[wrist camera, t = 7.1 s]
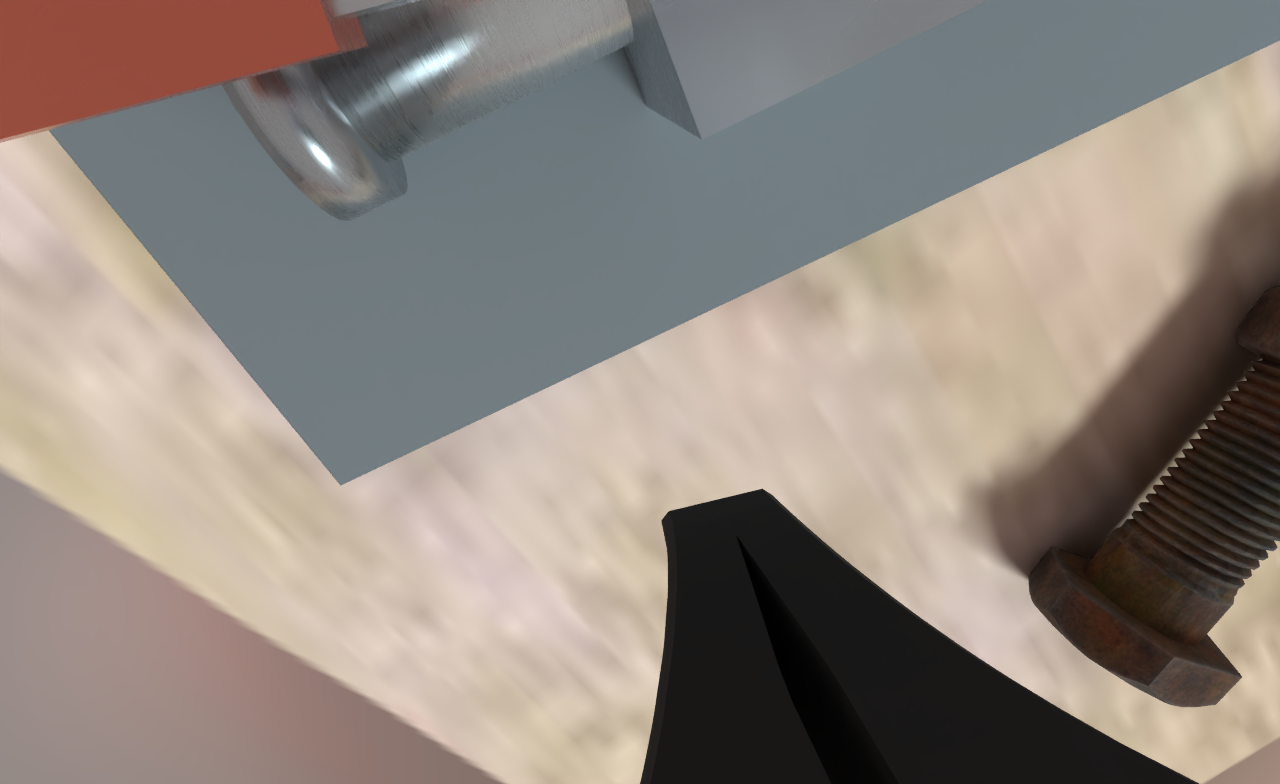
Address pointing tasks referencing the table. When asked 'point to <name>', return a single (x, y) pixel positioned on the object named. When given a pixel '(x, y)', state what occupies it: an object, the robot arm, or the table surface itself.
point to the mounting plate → (604, 208)
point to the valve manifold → (547, 73)
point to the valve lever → (154, 50)
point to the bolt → (1182, 545)
